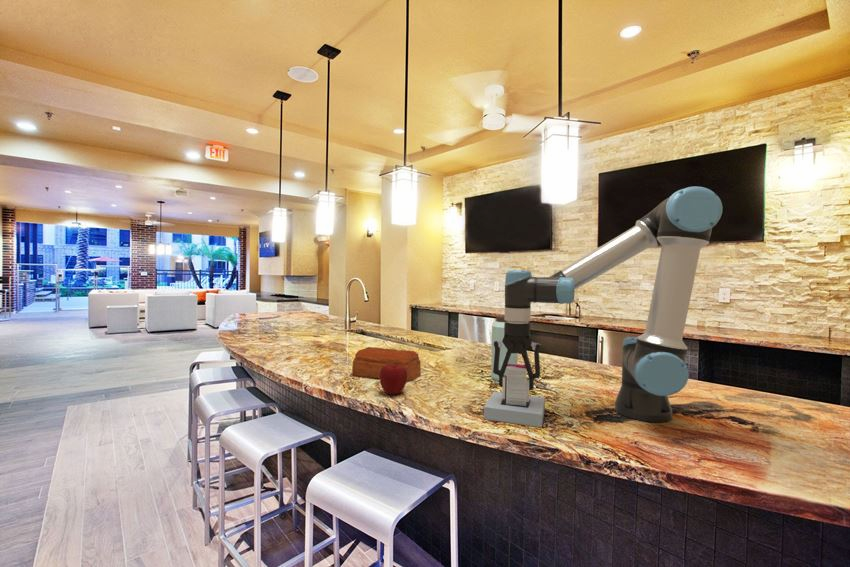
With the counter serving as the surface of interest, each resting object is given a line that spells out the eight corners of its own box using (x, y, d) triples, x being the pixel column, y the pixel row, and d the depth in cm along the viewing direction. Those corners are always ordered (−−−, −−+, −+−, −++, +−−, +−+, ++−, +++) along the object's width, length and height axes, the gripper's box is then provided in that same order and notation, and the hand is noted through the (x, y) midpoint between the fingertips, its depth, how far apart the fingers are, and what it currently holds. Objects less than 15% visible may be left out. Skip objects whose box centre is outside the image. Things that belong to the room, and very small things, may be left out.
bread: (408, 384, 146) (409, 356, 145) (348, 376, 155) (348, 350, 155) (424, 374, 160) (424, 349, 160) (367, 368, 170) (368, 344, 170)
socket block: (544, 408, 120) (545, 397, 120) (541, 427, 105) (542, 414, 105) (493, 402, 126) (493, 391, 125) (483, 419, 111) (483, 406, 110)
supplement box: (526, 407, 112) (526, 368, 112) (506, 406, 113) (505, 367, 113) (526, 401, 117) (525, 364, 117) (506, 400, 119) (505, 363, 118)
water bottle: (522, 380, 152) (523, 317, 151) (504, 384, 146) (505, 318, 146) (503, 375, 160) (504, 315, 160) (485, 378, 154) (486, 316, 154)
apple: (400, 399, 127) (401, 368, 127) (374, 395, 131) (374, 366, 130) (410, 391, 136) (411, 362, 136) (386, 388, 139) (386, 360, 139)
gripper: (551, 322, 115) (550, 399, 115) (487, 319, 122) (486, 391, 122) (550, 325, 108) (549, 407, 108) (482, 321, 114) (481, 399, 115)
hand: (515, 399), depth 115 cm, fingers closed on supplement box, 6 cm apart
